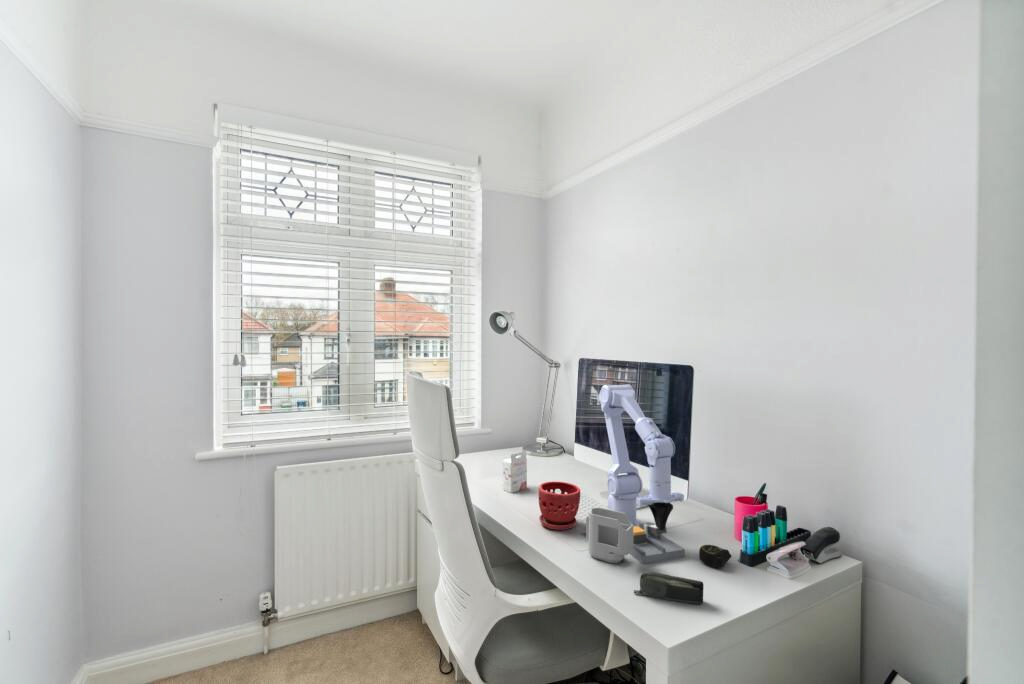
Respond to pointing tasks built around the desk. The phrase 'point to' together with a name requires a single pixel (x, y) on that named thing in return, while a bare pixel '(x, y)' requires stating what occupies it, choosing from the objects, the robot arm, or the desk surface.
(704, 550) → the tape measure
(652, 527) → the on rocker
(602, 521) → the grey piece
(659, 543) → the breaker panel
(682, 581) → the dark elongated piece
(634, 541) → the block
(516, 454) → the ink cartridge box
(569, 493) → the plant pot
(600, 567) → the desk surface
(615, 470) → the robot arm
